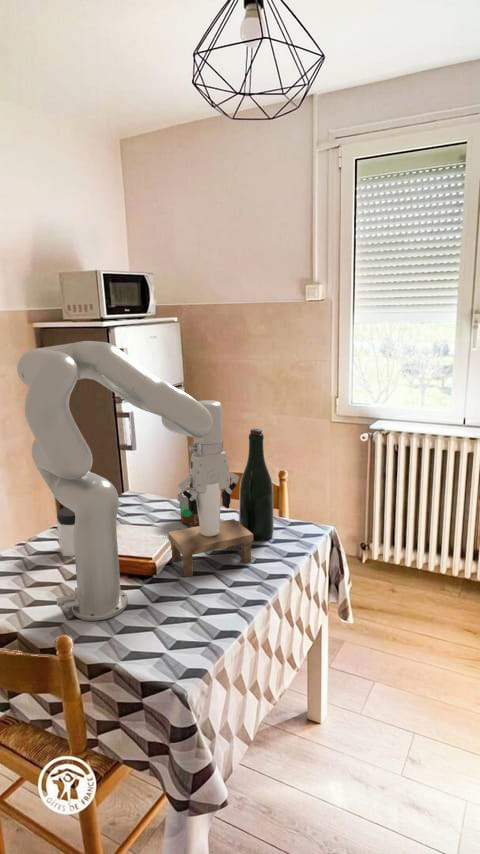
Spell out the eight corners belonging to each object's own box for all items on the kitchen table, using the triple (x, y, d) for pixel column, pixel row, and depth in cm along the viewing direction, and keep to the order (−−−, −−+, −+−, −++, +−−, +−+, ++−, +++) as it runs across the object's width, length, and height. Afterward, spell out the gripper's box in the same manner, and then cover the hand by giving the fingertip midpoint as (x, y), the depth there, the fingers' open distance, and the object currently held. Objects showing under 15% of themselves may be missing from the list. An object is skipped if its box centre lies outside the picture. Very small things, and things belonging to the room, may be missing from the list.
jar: (57, 547, 153) (53, 508, 150) (85, 541, 157) (82, 503, 154) (64, 559, 145) (61, 519, 143) (93, 552, 149) (90, 513, 147)
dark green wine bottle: (232, 534, 161) (230, 429, 154) (257, 525, 168) (257, 424, 160) (255, 545, 153) (255, 435, 146) (280, 535, 160) (281, 429, 153)
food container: (174, 516, 175) (173, 487, 173) (192, 514, 177) (192, 486, 175) (182, 530, 164) (181, 500, 162) (201, 528, 165) (200, 498, 163)
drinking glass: (218, 539, 138) (217, 485, 135) (194, 537, 140) (192, 483, 136) (224, 529, 145) (223, 477, 142) (201, 527, 146) (199, 476, 143)
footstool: (184, 578, 135) (183, 549, 133) (169, 559, 145) (167, 532, 143) (253, 561, 143) (253, 534, 142) (234, 544, 154) (233, 518, 152)
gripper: (182, 455, 130) (184, 520, 134) (244, 447, 138) (244, 508, 141) (172, 448, 137) (174, 511, 140) (232, 441, 144) (232, 500, 148)
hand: (209, 509), depth 141 cm, fingers open, 9 cm apart
